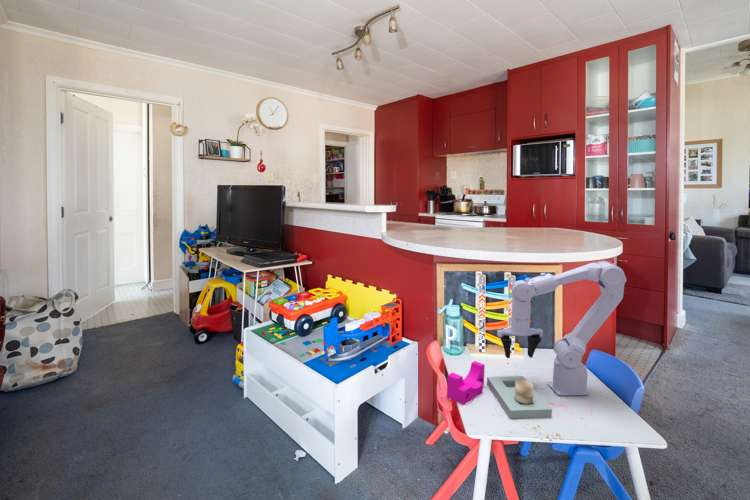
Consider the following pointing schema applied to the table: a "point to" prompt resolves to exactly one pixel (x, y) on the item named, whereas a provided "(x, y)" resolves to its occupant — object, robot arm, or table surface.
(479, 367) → the toy block
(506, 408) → the board
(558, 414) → the table surface
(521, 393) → the beige rounded lump
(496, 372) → the table surface
